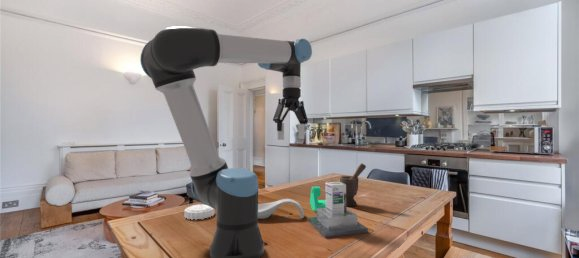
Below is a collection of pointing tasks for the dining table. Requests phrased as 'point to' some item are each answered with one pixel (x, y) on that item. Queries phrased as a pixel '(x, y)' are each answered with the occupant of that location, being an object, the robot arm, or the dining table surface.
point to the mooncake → (198, 212)
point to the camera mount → (316, 199)
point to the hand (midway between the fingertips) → (291, 139)
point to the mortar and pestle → (352, 185)
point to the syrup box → (335, 198)
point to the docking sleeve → (336, 224)
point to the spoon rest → (269, 208)
